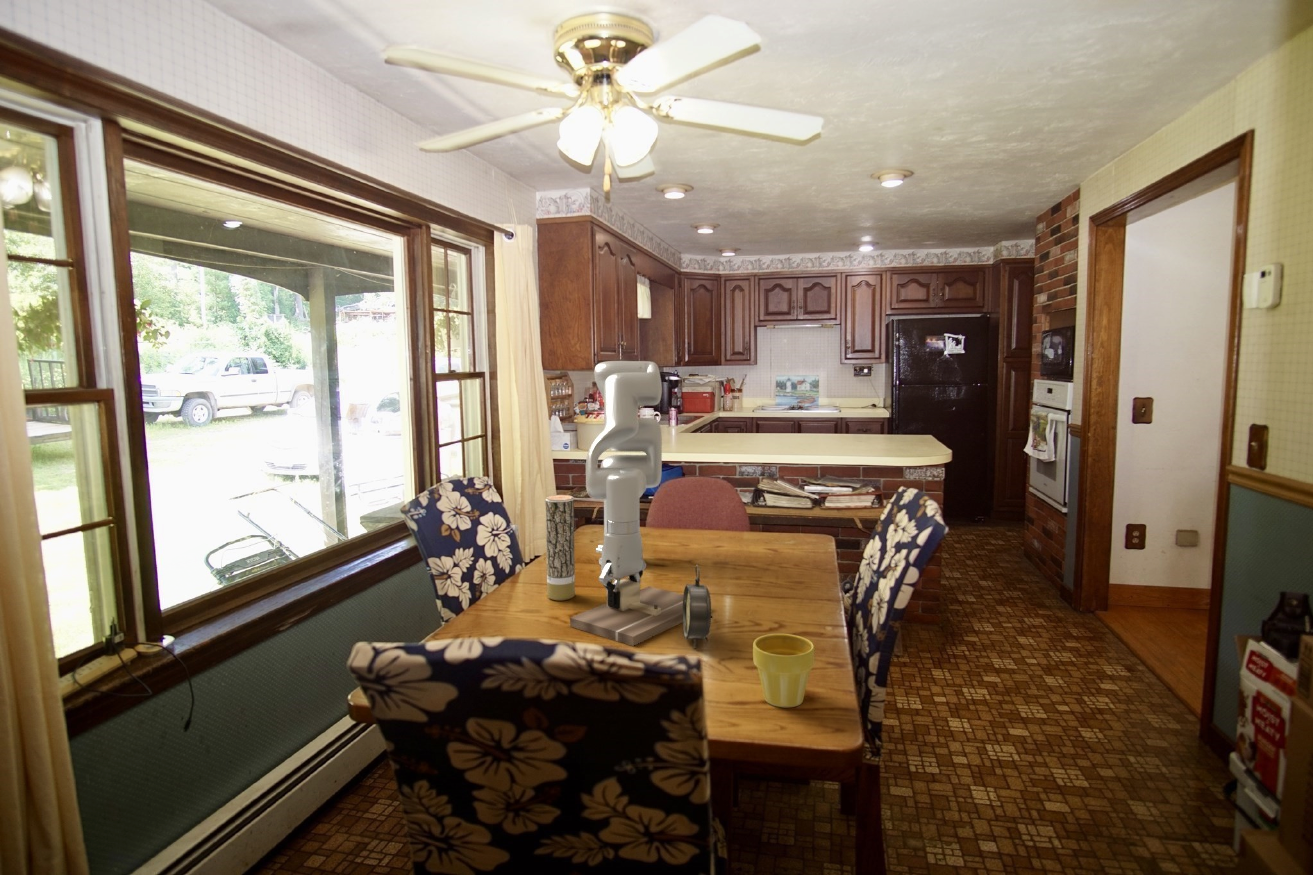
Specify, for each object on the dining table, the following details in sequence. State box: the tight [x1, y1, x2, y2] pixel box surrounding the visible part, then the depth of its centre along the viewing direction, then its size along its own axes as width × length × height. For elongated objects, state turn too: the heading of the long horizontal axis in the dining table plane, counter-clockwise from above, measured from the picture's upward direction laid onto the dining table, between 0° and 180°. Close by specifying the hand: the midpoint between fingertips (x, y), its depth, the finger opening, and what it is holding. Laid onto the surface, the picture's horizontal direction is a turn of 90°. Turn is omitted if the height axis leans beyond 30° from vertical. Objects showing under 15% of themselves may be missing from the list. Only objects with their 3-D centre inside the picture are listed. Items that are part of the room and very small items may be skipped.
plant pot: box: [752, 633, 816, 709], centre depth 120 cm, size 10×10×10 cm
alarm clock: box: [682, 564, 713, 651], centre depth 145 cm, size 11×5×16 cm, turn 5°
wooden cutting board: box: [569, 586, 684, 647], centre depth 160 cm, size 18×28×2 cm, turn 142°
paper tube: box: [545, 494, 576, 601], centre depth 174 cm, size 7×7×25 cm
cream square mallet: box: [606, 578, 661, 616], centre depth 160 cm, size 13×6×5 cm, turn 52°
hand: (623, 602), depth 163 cm, fingers closed on cream square mallet, 6 cm apart
